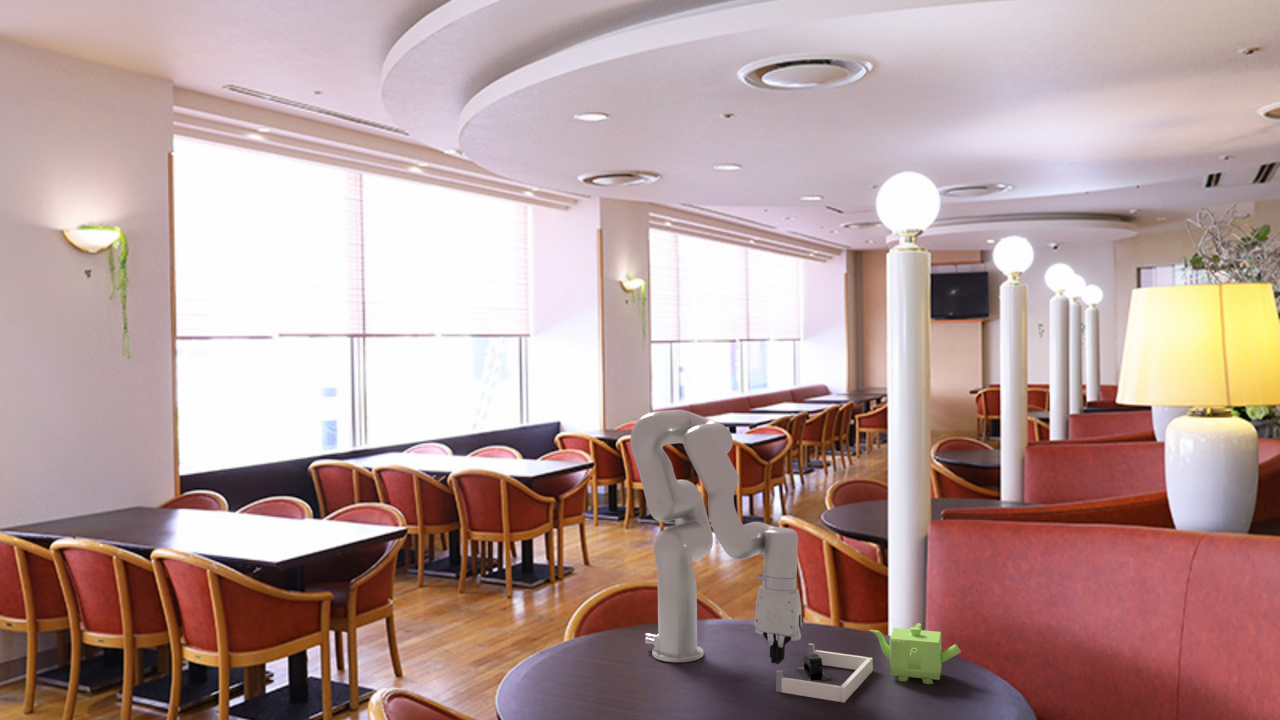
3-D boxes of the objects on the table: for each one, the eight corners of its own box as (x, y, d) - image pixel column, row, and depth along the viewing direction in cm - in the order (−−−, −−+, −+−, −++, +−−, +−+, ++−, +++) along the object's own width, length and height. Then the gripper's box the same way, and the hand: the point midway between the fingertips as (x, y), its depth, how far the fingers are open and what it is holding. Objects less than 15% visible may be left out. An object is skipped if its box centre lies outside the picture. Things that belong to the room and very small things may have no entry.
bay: (776, 691, 208) (775, 671, 208) (809, 661, 228) (809, 643, 228) (844, 702, 201) (844, 681, 201) (872, 670, 221) (872, 651, 221)
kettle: (868, 672, 220) (868, 624, 220) (915, 663, 226) (915, 616, 226) (915, 692, 207) (914, 640, 207) (963, 682, 213) (963, 631, 213)
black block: (838, 684, 214) (838, 663, 214) (807, 686, 213) (807, 666, 213) (817, 666, 227) (817, 646, 226) (788, 668, 225) (787, 648, 225)
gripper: (743, 581, 219) (740, 660, 219) (805, 591, 212) (802, 673, 212) (755, 574, 225) (752, 651, 226) (816, 584, 218) (813, 663, 219)
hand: (776, 661), depth 219 cm, fingers closed
